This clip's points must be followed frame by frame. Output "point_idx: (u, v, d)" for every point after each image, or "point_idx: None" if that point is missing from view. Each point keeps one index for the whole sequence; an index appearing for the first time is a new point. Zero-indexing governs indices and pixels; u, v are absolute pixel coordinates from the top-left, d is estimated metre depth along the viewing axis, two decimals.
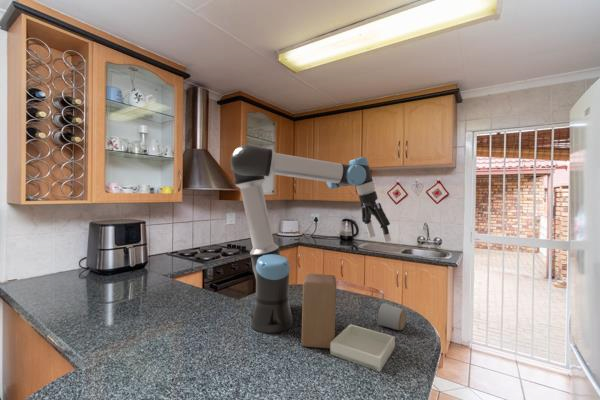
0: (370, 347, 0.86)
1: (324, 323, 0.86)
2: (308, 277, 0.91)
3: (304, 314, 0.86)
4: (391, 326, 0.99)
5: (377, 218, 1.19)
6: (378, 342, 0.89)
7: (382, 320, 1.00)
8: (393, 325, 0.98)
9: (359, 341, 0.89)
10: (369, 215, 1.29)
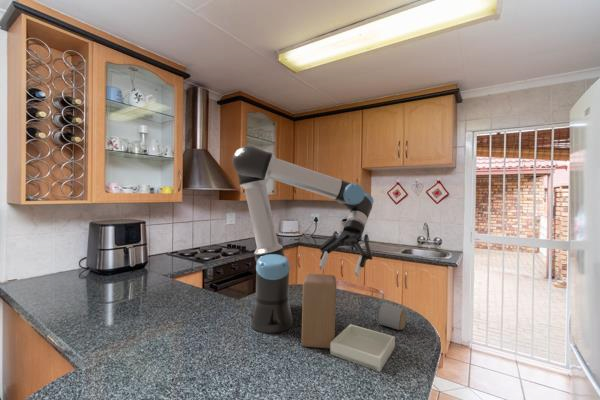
0: (370, 347, 0.86)
1: (324, 323, 0.86)
2: (308, 277, 0.91)
3: (304, 314, 0.86)
4: (391, 326, 0.99)
5: (360, 247, 1.03)
6: (378, 342, 0.89)
7: (382, 319, 1.01)
8: (393, 325, 0.99)
9: (359, 341, 0.89)
10: (337, 246, 1.09)
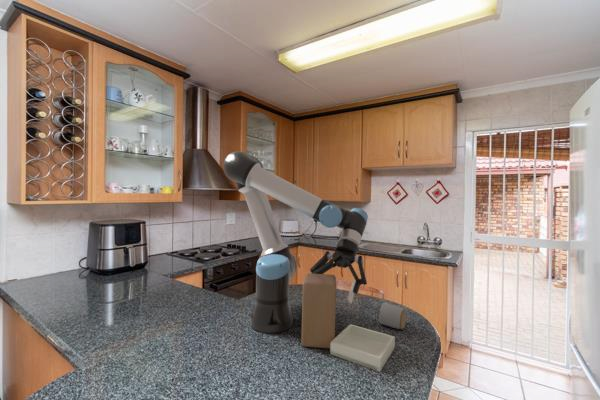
0: (370, 347, 0.86)
1: (324, 324, 0.85)
2: (308, 277, 0.90)
3: (304, 315, 0.86)
4: (392, 325, 1.00)
5: (354, 270, 0.95)
6: (378, 342, 0.89)
7: (383, 319, 1.01)
8: (394, 324, 0.99)
9: (359, 341, 0.89)
10: (328, 267, 1.02)
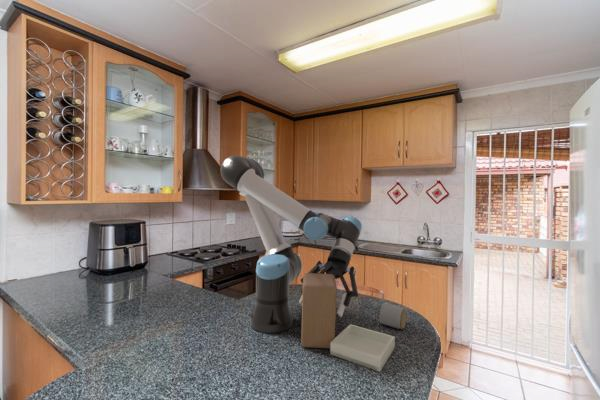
0: (370, 347, 0.86)
1: (325, 325, 0.85)
2: (307, 278, 0.88)
3: (304, 317, 0.85)
4: (392, 325, 1.00)
5: (345, 282, 0.92)
6: (378, 342, 0.89)
7: (383, 318, 1.01)
8: (394, 324, 0.99)
9: (359, 341, 0.89)
10: None
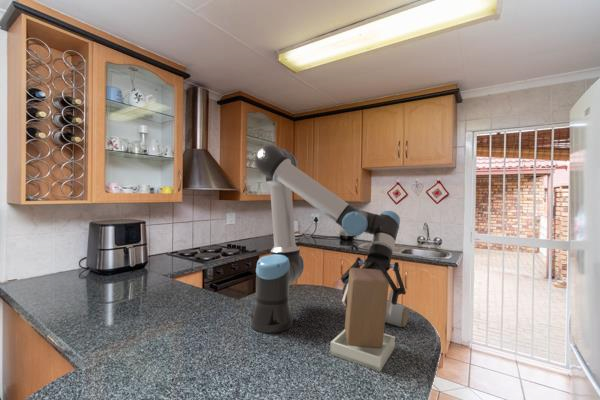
0: None
1: (374, 323, 0.79)
2: (355, 273, 0.83)
3: (352, 313, 0.79)
4: (394, 323, 1.02)
5: (390, 278, 0.87)
6: None
7: (385, 317, 1.03)
8: (396, 322, 1.01)
9: None
10: None
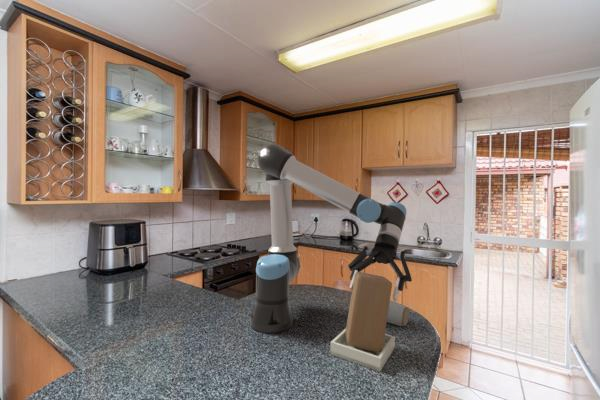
0: None
1: (375, 323, 0.81)
2: (360, 273, 0.87)
3: (355, 310, 0.82)
4: (394, 322, 1.02)
5: (397, 266, 0.90)
6: None
7: None
8: (396, 321, 1.01)
9: None
10: (368, 264, 0.97)
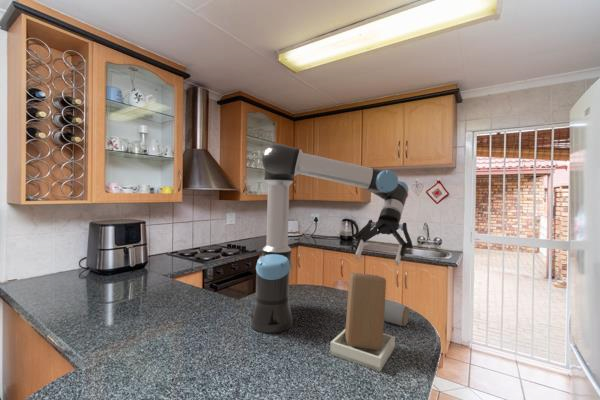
0: None
1: (373, 321, 0.82)
2: (355, 273, 0.89)
3: (352, 309, 0.83)
4: (395, 322, 1.02)
5: (399, 235, 0.99)
6: None
7: (386, 316, 1.04)
8: (396, 321, 1.02)
9: None
10: (372, 234, 1.05)
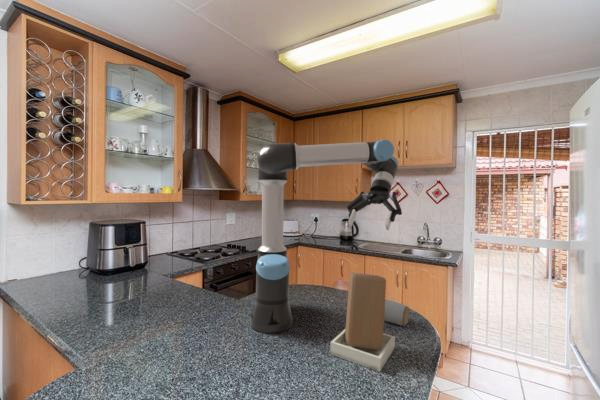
0: None
1: (373, 321, 0.82)
2: (355, 273, 0.89)
3: (352, 309, 0.83)
4: (395, 321, 1.03)
5: (389, 203, 1.04)
6: None
7: (386, 315, 1.04)
8: (397, 321, 1.02)
9: None
10: (364, 204, 1.10)
